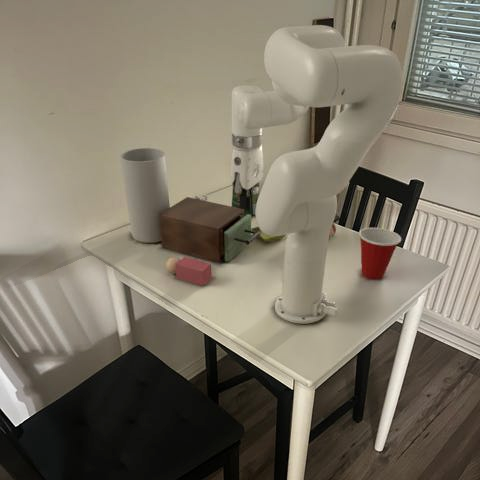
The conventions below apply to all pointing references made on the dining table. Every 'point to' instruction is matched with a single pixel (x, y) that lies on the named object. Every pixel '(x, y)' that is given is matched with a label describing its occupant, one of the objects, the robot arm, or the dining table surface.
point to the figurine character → (333, 228)
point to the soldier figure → (201, 198)
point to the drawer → (236, 236)
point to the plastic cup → (377, 251)
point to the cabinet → (196, 227)
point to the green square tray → (266, 237)
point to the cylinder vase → (145, 191)
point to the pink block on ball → (190, 270)
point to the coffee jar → (255, 197)
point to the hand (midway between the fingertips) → (246, 208)
